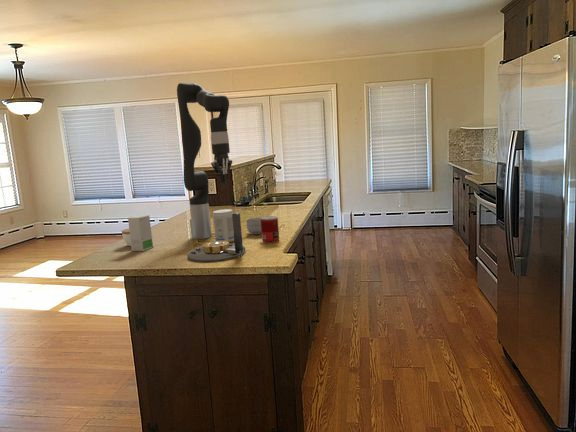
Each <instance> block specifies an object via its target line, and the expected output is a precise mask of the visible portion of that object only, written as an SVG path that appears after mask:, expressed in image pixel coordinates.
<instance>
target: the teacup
mask: <svg viewBox="0 0 576 432" xmlns="http://www.w3.org/2000/svg"><path fill="white" fill-rule="evenodd" d="M262 217H263V216H259V217H257V216H256V217H250V218H246V219H245V220H246V229H247V231H248V233H249V234H251V235H262V231H261V218H262Z"/></svg>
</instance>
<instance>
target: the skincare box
mask: <svg viewBox="0 0 576 432" xmlns="http://www.w3.org/2000/svg"><path fill="white" fill-rule="evenodd" d="M127 221H128V229H129V231H130V239H131V247H130V248H131V251H132V252H144V251H146V249H147V250H149V248H150V249H152V247H153V248H154V243H153V242H154V241H153V236H152V227H151V219H150V214H145V215H143V214H142V215H135V216H131V217H128V218H127ZM143 250H144V251H143Z"/></svg>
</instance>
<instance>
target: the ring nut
mask: <svg viewBox="0 0 576 432" xmlns="http://www.w3.org/2000/svg"><path fill="white" fill-rule="evenodd" d="M232 221H233V232H234V241H233V242H234V245H235V249H232V248H229V244H230V242H228V241H221V242H222V245H218V246H210V243H212V242H220V241H216V240H215V241H212V242H210V241H209V242H205V243H204V244H202V247H203V252H206V253H211V252H213V253H218V252H220V251H221V252H224V251H228V252H235V253H237V254H239V253H243V252H244V250H243V245H244V244H243V235H242V223H241V213H240V212H233V214H232Z"/></svg>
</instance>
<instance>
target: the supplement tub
mask: <svg viewBox="0 0 576 432" xmlns="http://www.w3.org/2000/svg"><path fill="white" fill-rule="evenodd" d="M233 213H234V212H233V209H227V208H225V209H217V210H214V211H213V212H212V218H213V219H212V220H213V226H214V237H215V241H220V242H221V241H228V242H229V243H233V242H234V232H233V221H232V214H233Z"/></svg>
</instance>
